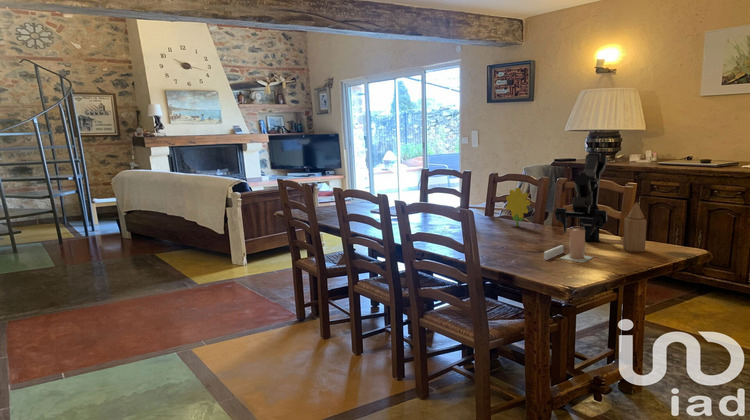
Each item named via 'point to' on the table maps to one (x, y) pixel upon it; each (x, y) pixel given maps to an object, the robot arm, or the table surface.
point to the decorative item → (517, 204)
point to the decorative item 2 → (634, 230)
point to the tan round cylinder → (577, 243)
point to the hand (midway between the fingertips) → (577, 233)
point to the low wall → (553, 252)
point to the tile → (577, 259)
